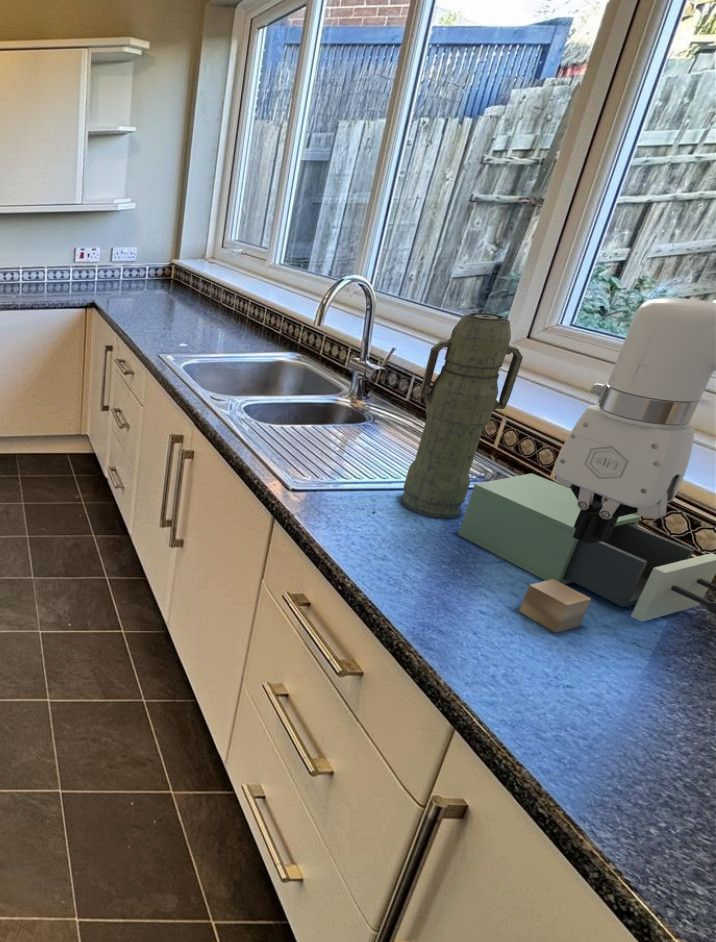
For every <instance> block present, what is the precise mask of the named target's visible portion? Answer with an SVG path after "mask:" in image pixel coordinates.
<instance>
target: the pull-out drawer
mask: <svg viewBox="0 0 716 942" xmlns="http://www.w3.org/2000/svg"><path fill="white" fill-rule="evenodd" d="M694 552H695V549H694V548H691V547H689V546H686V545H684V544H681V543H679V542H676V541H674V540H671V539H670V538H668V537H667V538H666V537H664V536H661V535H659V534H656V533H654V532H652V531H649V530H647V529H644V528H642V527H639V526H638V525H637V526H635V525H632V524H630V523H628V524H623V525H619V526H614V529H613V531H612V533H611V535H610V537H609V538H608V539H607V540H603V541H601V542H596V543H592V544H586V543H584V542H583V541H582V540H578V542H577V545H576V547H575V550H574V552H573V555H572V557H571V560H570V562H569V564H568V567H567V569H566V572H565V574H564V577H565V578H567V579H569V580H571V581H573V582H572V583H575V584H577V585H578V586H580V587H582V588H584V589H586V590H588V591H590V592H592V593H594V594H596V595H598V596H600V597H602V598H604V599H606V600H608V601H610V602H612V603H614V604H616V605H618V606H620V607H622V608H624V607H625V608H626V607H628V606H633V605H635V606H634V608H633V610H632V613H631V614H630V617H631V618H633V619H635V620H637V621H639V622H640V623H642V622H646V621H650V620H653V619H658V618H660V617H663V616H668V615H671V614H674V613H678V612H682V611H685V610H689V609H693V608H696V607H699V606H700V605H703V606H705V607H706V610H707V611H708V612H710V613H711V614H714V615H716V600H714V601H711V600H709V599H706V598H704V597H705V595H706V594H707V592H708V590H712V591H714V592H716V584H715V583H712V581H713V580H714V578H715V576H716V554H715V553H713V552H710V553H707V554H703V555H698V556H695V557H692V556H693V553H694Z"/></svg>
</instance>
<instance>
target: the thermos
mask: <svg viewBox="0 0 716 942" xmlns="http://www.w3.org/2000/svg"><path fill="white" fill-rule="evenodd" d="M510 323H511V321H510V319H508V318H506V317H505V316H503V315H500V314H494V313H486V312H470V313H468V314H464V315H462V316H461V317H460V319H459V320H458V322H457V323H456V325H455V326H454V328H453V329H452V333H451V334H450V338H449V339H448V340H440V341H439V342H437V343H436V344H435V345H433V346H432V347H431V348H430V352H429V356H428V360H427V363H426V367H425V370H424V374H423V378H422V382H421V385H420V388H419V394H420V396H421V397H422V398H423V400H425V401H426V402H427V403H426V407H425V415H426V419H425V423H424V427H423V430H422V434H421V437H420V441H419V444H418V448H417V451H416V455H415V459H414V460H413V462H412V463H411V464H410V465H409V467H408V471H407V473H406V476H405V477H406V478H405V481H404V484H403V494H402V496H401V499H400V501H401V503H402V505H403V506H405V507H406V508H407V509H409V510H411V511H413V512H415V513H418V514H421V515H423V516H426V517H431V518H438V519H454V518H456V517H458V516H459V514H460V511H461V507H462V505H463V503H464V504H465V500H466V497H467V494H468V490H469V487H470V485H471V479H470V471H471V468H472V466H473V465H472V464H473V462H474V459H475V456H476V453H477V450H478V446H479V443H480V441H481V437H482V433H483V431H484V429H485V427H486V426H487V425H488V424H489V423H490V420H491V418H492V414H493V413H496V410H505V408H506V406H507V405H508V402H509V400H510V398H511V395H512V392H513V389H514V385H515V383H516V380H517V377H518V374H519V370H520V367H521V365H522V362H523V358H524V357H523V355H522V353H521V352H520V349H519V348H518V347H516V346H514V345H513V346H512V345H510V342H511V339H512V332H511V324H510ZM444 348H446V353H445V355H444V363H443V366H442V367H441V370H440V372H439V374H438V376H437V377H436V378H435V379H434V381H432V380H433V377H434V373H435V370H436V365H437V361H438V358H439V354H440V352H441V351H442V350H443V349H444ZM511 354H512V357H511V360H510V364H509V367H508V370H507V373H506V376H505V380H504V383H503V385H502V389H501V392H500V396H499V399H497V398H498V395H499V385H498V380H499V377H500V373H499V372H500V368H502V367H503V364H504V362H505V358H506V355H509V356H511ZM432 382H433V383H432ZM431 384H432V386H431ZM430 388H431V390H430Z"/></svg>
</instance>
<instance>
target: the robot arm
mask: <svg viewBox="0 0 716 942" xmlns="http://www.w3.org/2000/svg"><path fill="white" fill-rule="evenodd" d="M714 372H716V299H714V300H712V301H708V300H701V299H692V298H681V297H679V298H678V297H677V298H676V297H660V298H652V299H649V300H647V301H644V303H642V304H641V305H639V307H638V308H637V309H636V311H635V314H634V316H633V318H632V321H631V323H630V326H629V327H628V331H627V333H626V336H625V338H624V341H623V343H622V346H621V349H620V351H619V353H618V355H617V359H616V361H615V363H614V365H613V369H612V371H611V373H610V376H609V378H608V381H607V382H605V383H604V384H602V383H595V384H593V385H592V387H591V389H590V393H591V394H594V395H597V397H599V398H598V401H597V403H598V404H591V405H588V407H587V408H585V411H584V412H583V413H582V415H581V416H580V417H579V419H578V420H577V422H576V423H575V425H574V427H573V428H572V429H571V430H570V433H569V435H568V436H567V438H566V440H565V442H564V444H563V446H562V448H561V449H560V452H559V454H558V455H557V458H556V460H555V464H554V468H553V473H554V474H555V480H556V481H557V482H558V483H559V484H561V485H563V486H565V487H568V488H570V489H571V490H572V492H573V493H574V495H575V497H576V498H577V500H578V502H577V506H578V507H579V508H580V509H581V510H580V512H579V515H578V517H577V520H576V522H575V524H574V528H575V529H576V530H575V532H574V535H573V538H575V539H578V540H582V541H583V542H584V543H586V544H592V543H596V542H601V541H603V540H607V539H608V538H609V537H610V535H611V533H612V531H613V529H614V526H615V524H616V522H617V520H618V517H621V516H625V515H630V514H634V515H637V516H641V517H642V518H648V519H652V520H657V519H662V518H665V517H666V515H667V508H668V507H667V506H668V504H669V503H671V502H673V500H674V499H675V498H676V496H677V494H678V492H679V490H680V487H681V485H682V483H683V480H684V478H685V475H686V473H687V470H688V466H689V462H690V459H691V456H692V450H693V446H694V440H695V439H694V437H695V427H694V426H693V425H690V422H691V420H692V419H693V416H694V414H695V412H696V409H697V407H698V405H699V403H700V400H701V399H702V396H703V394H704V392H705V390H706V388H707V385H708V383H709V381H710V379H711V377H712V375H713V373H714ZM606 499H607V500H606ZM605 500H606V503H605V505H604V502H605ZM603 505H604V506H603Z"/></svg>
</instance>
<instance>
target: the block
mask: <svg viewBox="0 0 716 942" xmlns="http://www.w3.org/2000/svg"><path fill="white" fill-rule="evenodd" d="M591 601H592V598H591V597H589V596H587V595H586V594H584V593H582V592H580V591H577V590H575V589H574V588H572V587H570V586H568V585H567V584H562V583H560V582H558V581H556V580H554V579H551V580H547V581H545V580H543V581H538V582H535V583H531V584H529V585H528V587H527V590H526V592H525V595H524V597H523V600H522V603H521V605H520V607H519V610H518V612H519V613H521V614H523V615H524V616H526V617H527V618H529V619H531V620H533V621H535V622H536V623H538V624H539V625H541V626H543V627H545V628H547V629H548V630H550V631H552V632H554V633H560V632H564V631H567V630H571V629H575V628H578V627H580V626H581V624H582V622H583V619H584V618H585V615H586V613H587V611H588V608H589V606H590V604H591Z"/></svg>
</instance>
